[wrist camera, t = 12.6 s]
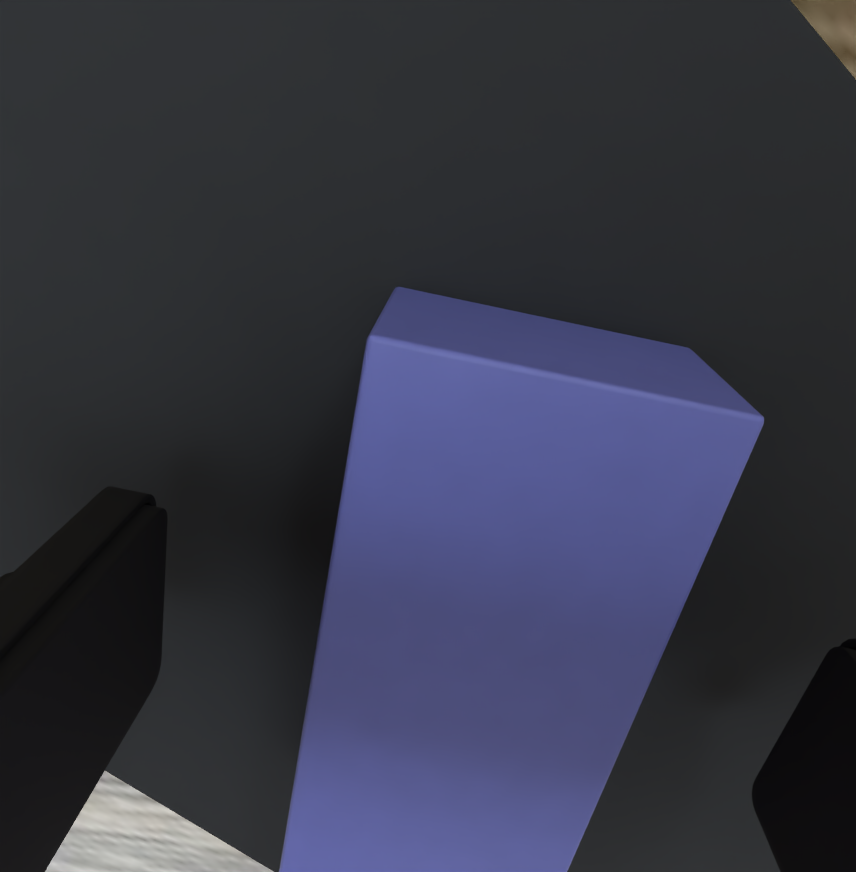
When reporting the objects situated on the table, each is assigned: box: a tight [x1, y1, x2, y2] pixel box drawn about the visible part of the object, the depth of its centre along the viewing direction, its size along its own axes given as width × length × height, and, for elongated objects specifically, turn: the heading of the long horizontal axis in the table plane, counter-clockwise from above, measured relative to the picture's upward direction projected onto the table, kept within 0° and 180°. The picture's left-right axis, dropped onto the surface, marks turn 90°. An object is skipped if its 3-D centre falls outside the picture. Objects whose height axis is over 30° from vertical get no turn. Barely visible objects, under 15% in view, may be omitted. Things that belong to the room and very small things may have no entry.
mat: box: [0, 0, 856, 872], centre depth 11 cm, size 16×20×1 cm
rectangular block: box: [279, 287, 764, 872], centre depth 9 cm, size 9×4×2 cm, turn 169°
